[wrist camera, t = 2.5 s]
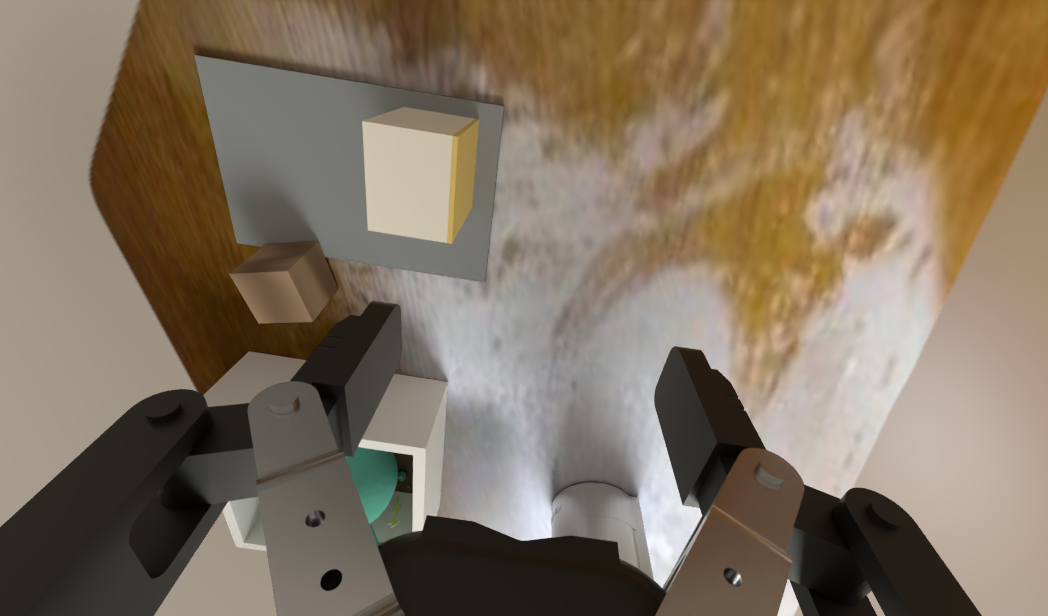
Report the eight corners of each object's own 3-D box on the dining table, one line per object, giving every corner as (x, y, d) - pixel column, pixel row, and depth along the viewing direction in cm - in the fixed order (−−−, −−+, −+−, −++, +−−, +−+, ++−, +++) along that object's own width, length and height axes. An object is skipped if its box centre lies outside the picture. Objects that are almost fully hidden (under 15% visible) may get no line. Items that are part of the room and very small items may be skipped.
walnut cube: (317, 241, 33) (287, 271, 29) (338, 288, 36) (313, 321, 32) (265, 243, 34) (229, 273, 30) (289, 290, 36) (258, 323, 33)
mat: (504, 105, 28) (503, 106, 27) (485, 280, 34) (484, 282, 34) (198, 55, 27) (194, 55, 27) (239, 241, 34) (236, 243, 34)
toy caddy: (447, 381, 40) (425, 448, 33) (440, 502, 50) (421, 573, 43) (248, 351, 40) (185, 412, 33) (280, 479, 50) (236, 546, 43)
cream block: (479, 119, 28) (458, 136, 22) (472, 207, 31) (452, 243, 25) (404, 106, 28) (362, 121, 22) (404, 196, 31) (367, 230, 25)
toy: (229, 468, 40) (338, 566, 44) (258, 469, 33) (383, 584, 37) (314, 393, 46) (401, 483, 51) (352, 380, 40) (449, 486, 44)
